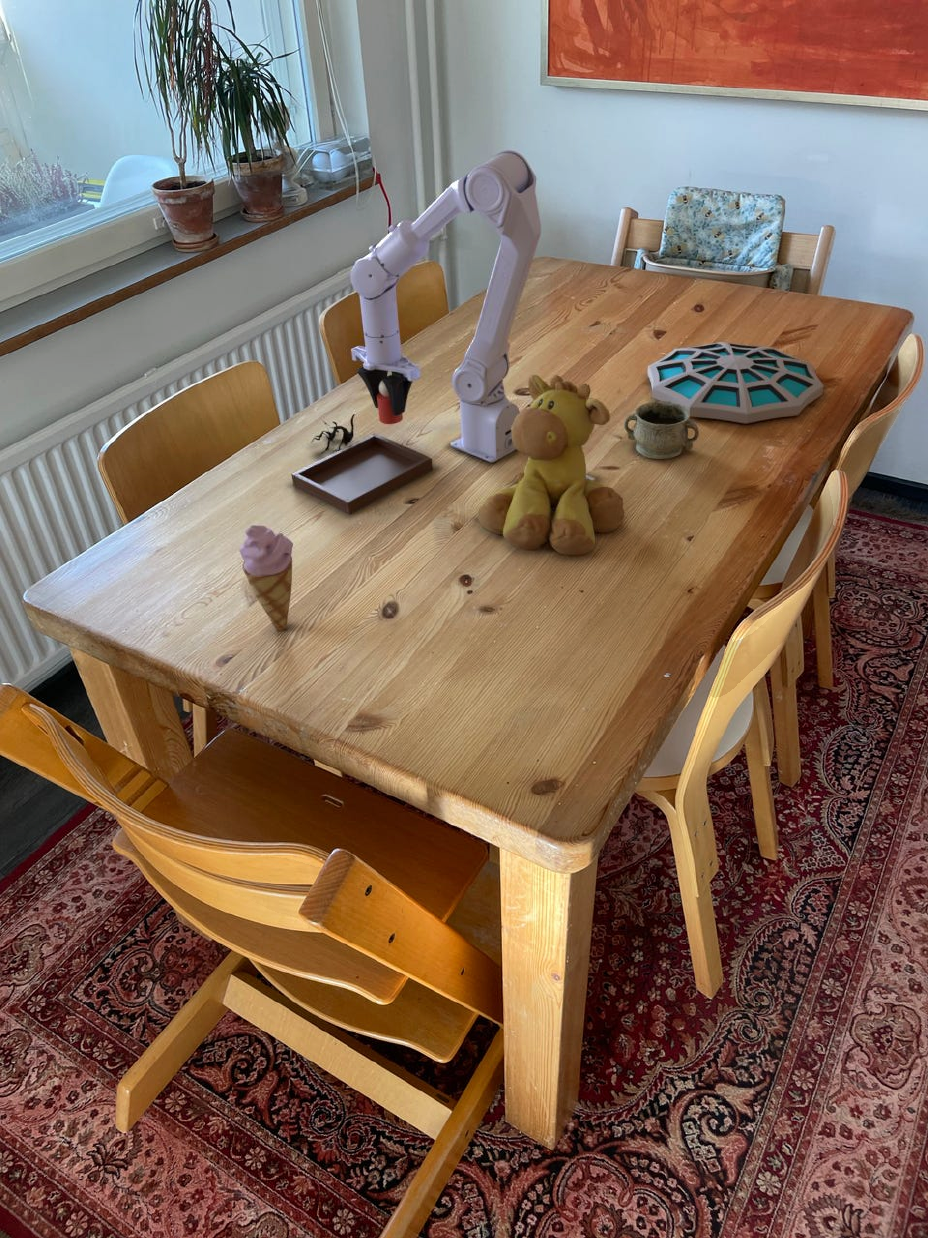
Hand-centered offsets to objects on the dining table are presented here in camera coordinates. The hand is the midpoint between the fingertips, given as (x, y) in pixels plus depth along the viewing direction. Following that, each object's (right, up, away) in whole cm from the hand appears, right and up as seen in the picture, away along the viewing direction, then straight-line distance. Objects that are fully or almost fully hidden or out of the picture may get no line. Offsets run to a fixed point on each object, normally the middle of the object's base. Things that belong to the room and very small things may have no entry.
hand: (390, 409), depth 159 cm
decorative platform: (+61, +6, +10) cm, 62 cm away
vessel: (+44, -8, -7) cm, 45 cm away
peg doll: (0, -1, +1) cm, 2 cm away
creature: (-9, -7, -1) cm, 12 cm away
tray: (-3, -13, -10) cm, 17 cm away
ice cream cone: (-11, -36, -39) cm, 54 cm away
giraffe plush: (+26, -21, -22) cm, 39 cm away
